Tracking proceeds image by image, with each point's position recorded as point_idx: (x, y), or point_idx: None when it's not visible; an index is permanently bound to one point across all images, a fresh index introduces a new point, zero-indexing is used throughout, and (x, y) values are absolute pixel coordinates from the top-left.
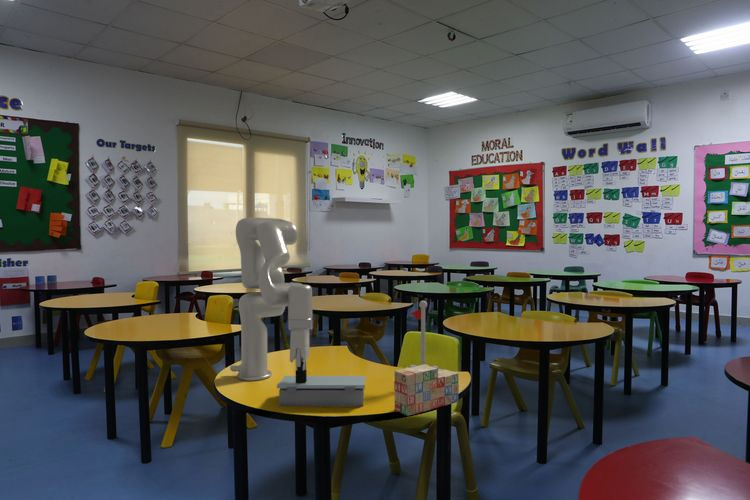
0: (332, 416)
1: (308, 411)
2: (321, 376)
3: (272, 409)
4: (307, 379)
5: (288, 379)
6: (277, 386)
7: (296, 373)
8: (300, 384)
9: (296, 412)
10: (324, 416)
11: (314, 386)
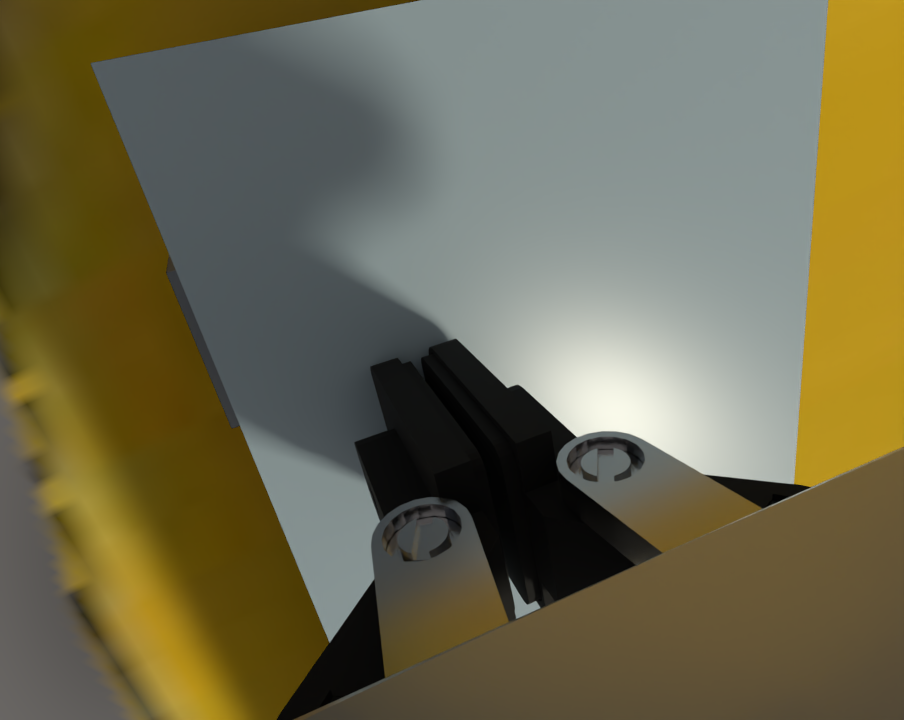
0: (131, 703)
1: (168, 481)
2: (766, 472)
3: (45, 47)
4: (619, 401)
5: (595, 110)
6: (100, 78)
7: (420, 454)
8: (307, 472)
9: (84, 388)
10: (100, 657)
11: (328, 635)
